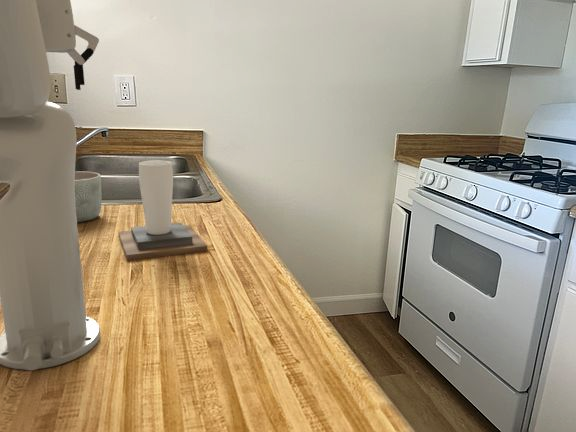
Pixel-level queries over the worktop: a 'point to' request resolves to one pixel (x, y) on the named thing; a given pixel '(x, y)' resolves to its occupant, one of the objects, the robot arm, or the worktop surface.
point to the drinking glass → (156, 195)
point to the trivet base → (160, 250)
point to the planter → (87, 195)
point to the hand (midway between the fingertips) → (46, 89)
